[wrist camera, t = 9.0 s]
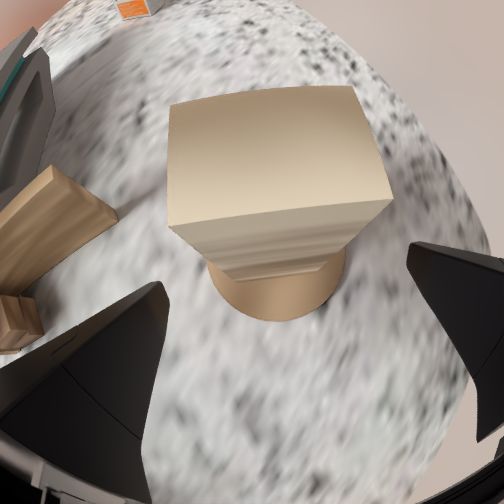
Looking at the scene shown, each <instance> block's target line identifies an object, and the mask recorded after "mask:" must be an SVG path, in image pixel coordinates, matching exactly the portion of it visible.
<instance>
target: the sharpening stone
mask: <svg viewBox="0 0 504 504" xmlns="http://www.w3.org/2000/svg"><path fill="white" fill-rule="evenodd" d="M37 35H38V32H37V31H36V30H35V28H34V27H31V28H30V29H28V30H27V31H26V32H24V33H23V34H22V35H20V36H19V37H18V38H16V39H15V40H14V41H12V42H11V43H10V44H9V45H7V46H6V47H5V48H4V49H3V50H1V51H0V213H1V212H2V210H3V209H4V208H5V207H6V206H7V205H8V204H9V203H10V202H11V201H12V200H13V199H14V198H15V197H16V196H17V195H18V194H19V193H20V192H21V191H22V190H23V189H24V188H25V187H26V186H27V185H28V184H29V183H31V182H32V181H33V180H34V179H35V178H36V174H37V169H38V165H39V162H40V158H41V154H42V151H43V147H44V144H45V141H46V137H47V134H48V131H49V128H50V125H51V123H52V120H53V117H54V114H55V112H56V110H55V104H54V98H53V91H52V83H51V74H50V64H49V56H48V55H47V54H46V53H45V51H44V50H43V49H42V47H40V48H39V49H37V50H36V51H34V52H33V53H31V54H30V55H28V56H27V57H25V58H24V57H23V56H22V55H23V54H24V52H25V51H26V50H27V48H28V47H29V45H30V44H31V43H32V41H33V40H34V39H35V37H36V36H37Z"/></svg>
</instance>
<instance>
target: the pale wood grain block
mask: <svg viewBox="0 0 504 504" xmlns="http://www.w3.org/2000/svg"><path fill="white" fill-rule="evenodd" d="M393 199H394V198H393V194H392V191H391V187H390V184H389V181H388V177H387V174H386V171H385V168H384V165H383V162H382V159H381V156H380V153H379V151H378V148H377V145H376V142H375V140H374V137H373V134H372V132H371V129H370V127H369V124H368V122H367V119H366V117H365V114H364V112H363V110H362V107H361V105H360V103H359V101H358V98H357V96H356V94H355V92H354V90H353V87H352V86H301V87H285V88H272V89H262V90H253V91H245V92H238V93H231V94H225V95H219V96H213V97H208V98H202V99H197V100H192V101H188V102H183V103H179V104H175V105H170V115H169V133H168V162H167V219H168V227H169V228H170V229H171V230H173V231H174V232H175V233H176V234H177V235H178V236H180V237H181V238H182V239H183V240H184V241H186V242H187V243H188V244H189V245H190V246H192V247H193V248H194V249H195V250H197V251H198V252H199V253H200V254H201V255H203V256H204V257H205V258H206V259H207V260H209V261H210V262H211V263H212V264H214V265H215V266H216V267H217V268H219V269H220V270H221V271H222V272H223V273H225V274H226V275H227V276H228V277H230V278H231V279H232V280H233V281H235V282H236V283H240V282H249V281H257V280H265V279H273V278H280V277H288V276H295V275H303V274H310V273H316V272H317V271H318V270H319V269H320V268H321V267H323V266H324V265H325V264H326V263H327V262H328V261H329V260H330V259H331V258H333V257H334V256H335V255H336V254H337V253H338V252H339V251H340V250H341V249H342V248H343V247H344V246H346V245H347V244H348V243H349V242H350V241H351V240H352V239H353V238H354V237H355V236H356V235H357V234H358V233H359V232H360V231H361V230H363V229H364V228H365V227H366V226H367V225H368V224H369V223H370V222H371V221H372V220H373V219H374V218H375V217H376V216H377V215H378V214H379V213H380V212H381V211H382V210H383V209H384V208H385V207H386V206H387V205H388V204H389V203H390V202H391V201H392V200H393Z"/></svg>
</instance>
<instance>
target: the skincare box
mask: <svg viewBox="0 0 504 504" xmlns="http://www.w3.org/2000/svg"><path fill="white" fill-rule="evenodd" d="M112 1H113V3H114V5H115V7H116V9H117V11H118V13H119V15H120V18H121V20H122V21H123V20H127V19H133V18H138V17H145V16H152V15H154V14H155V13H156V12H157V11H158V10H159V9H160V8H161V7H162V6H163V5H164V0H112Z"/></svg>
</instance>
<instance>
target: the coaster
mask: <svg viewBox="0 0 504 504" xmlns="http://www.w3.org/2000/svg"><path fill="white" fill-rule="evenodd" d="M344 263H345V246H344V247H343V248H342V249H341V250H340V251H339V252H338V253H337V254H336V255H335V256H334V257H333V258H331V259H330V260H329V261H328V262H327V263H326V264H325V265H324V266H323V267H321V268H320V269H319V270H318V271H317V272H316V273H310V274H303V275H295V276H288V277H280V278H273V279H265V280H257V281H249V282H240V283H236V282H235V281H233V280H232V279H231V278H230V277H228V276H227V275H226V274H225V273H223V272H222V271H221V270H220V269H219V268H217V267H216V266H215V265H214V264H212V263H211V262H210V261H209V260H207V265H208V270H209V273H210V276H211V279H212V281H213V283H214V285H215V287H216V288H217V290H218V291H219V293H220V294H221V295H222V297H223V298H224V299H225V300H226V301H227V302H228V303H229V304H230V305H231V306H233V307H234V308H235V309H237V310H238V311H240V312H242V313H244V314H246V315H248V316H250V317H253V318H256V319H260V320H265V321H287V320H292V319H296V318H299V317H302V316H304V315H306V314H308V313H310V312H312V311H314V310H315V309H316V308H318V307H319V306H321V305H322V304H323V303H324V302H325V301H326V300H327V299H328V298H329V297H330V295H331V294H332V293H333V291H334V290H335V288H336V286H337V285H338V283H339V280H340V278H341V276H342V272H343V268H344Z"/></svg>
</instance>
